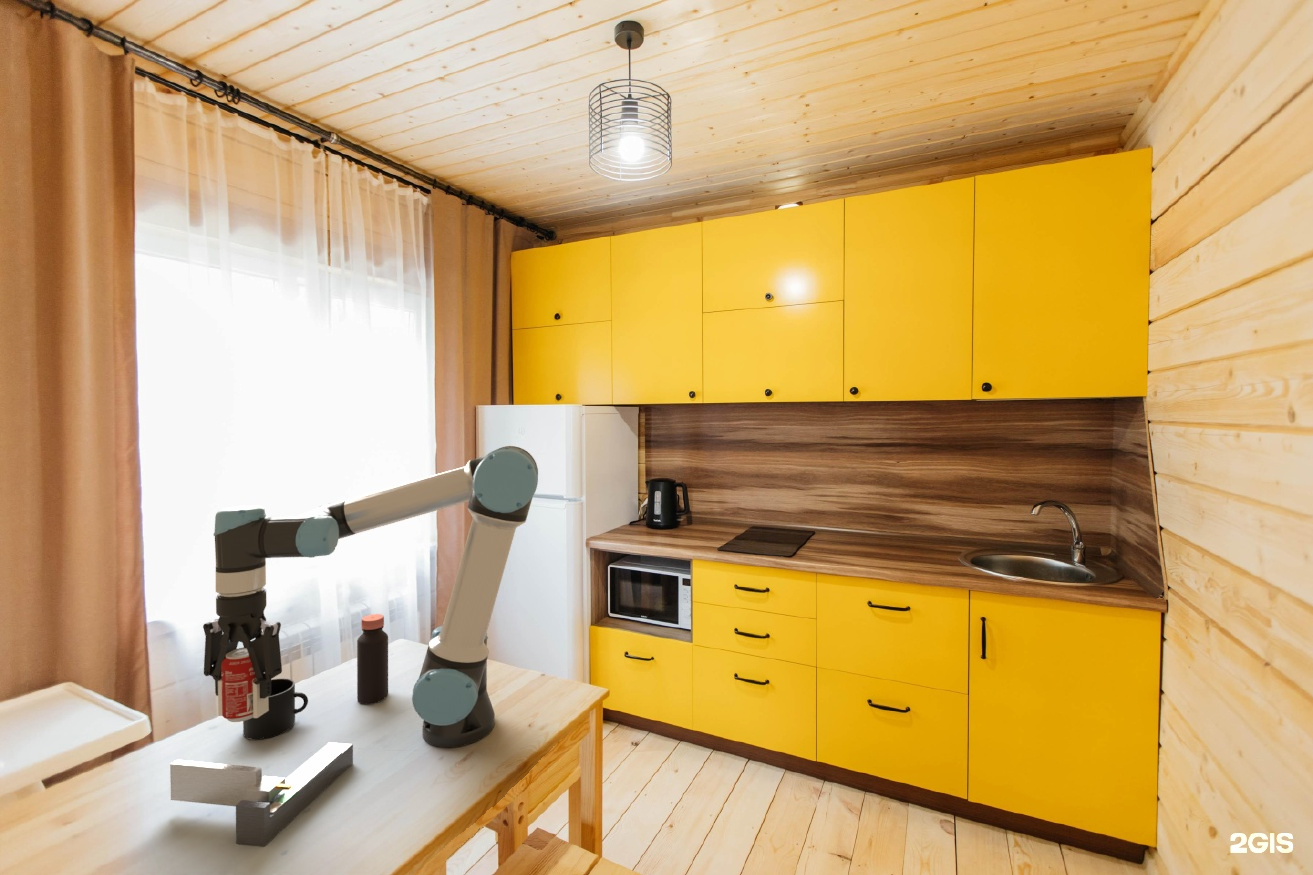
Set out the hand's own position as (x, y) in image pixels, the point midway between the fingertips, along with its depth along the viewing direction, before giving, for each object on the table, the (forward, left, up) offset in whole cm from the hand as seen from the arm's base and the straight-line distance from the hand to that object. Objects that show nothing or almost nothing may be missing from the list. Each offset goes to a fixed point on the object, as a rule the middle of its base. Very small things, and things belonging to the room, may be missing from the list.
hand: (243, 712), depth 105 cm
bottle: (-4, -34, -14) cm, 37 cm away
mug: (+9, -19, -14) cm, 25 cm away
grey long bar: (-13, +2, -14) cm, 19 cm away
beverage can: (0, 0, -1) cm, 1 cm away
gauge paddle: (-5, +8, -11) cm, 15 cm away
